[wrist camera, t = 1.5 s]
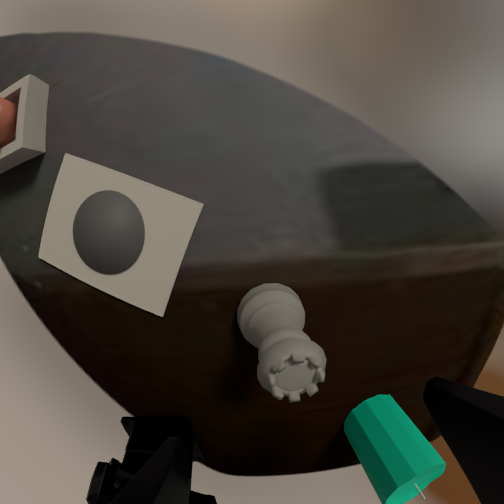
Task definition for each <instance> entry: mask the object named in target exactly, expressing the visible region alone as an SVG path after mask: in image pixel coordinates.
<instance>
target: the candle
mask: <svg viewBox="0 0 504 504" xmlns="http://www.w3.org/2000/svg"><path fill="white" fill-rule="evenodd" d="M344 432H345V434H346V436H347V438H348V440H349V442H350V444H351V445H352V447H353V449H354V451H355V453H356V455H357V457H358V459H359V461H360V463H361V464H362V466H363V468H364V470H365V472H366V474H367V476H368V478H369V480H370V482H371V484H372V485H373V487H374V489H375V491H376V493H377V495H378V497H379V498H380V501H381V503H382V504H403V503H405V502H407V501H409V500H410V499H412V498H414V497H415V496H417V495H418V494H419V493H420V494H421V496H422V497H423V499H426V498H425V497H424V495H423V494H422V492H421V491H422V490H423V489H424V488H425V487H426V486H427V485H428V484H429V483H430V482H432V481H433V480H435V479H436V478H438V477H439V476H441V475H442V474H443V472H444V469H445V466H446V463H445V462H444V461H443V459H442V458H441V457H440V456H439V454H438V453H437V452H436V450H435V449H434V448H433V447H432V446H431V444H430V443H429V442H428V441H427V439H426V438H425V437H424V436H423V434H422V433H421V432H420V431H419V430H418V428H417V427H416V426H415V425H414V423H413V422H412V421H411V420H410V419H409V417H408V416H407V415H406V414H405V413H404V411H403V410H402V409H401V408H400V406H399V405H398V404H397V403H396V402H395V400H394V399H393V398H392V397H391V396H390V395H377V396H374V397H372V398H369V399H367V400H365V401H363V402H362V403H361V404H359V405H358V406H357V407H356V408H354V409H353V410H352V411H351V412H350V414H349V415H348V417H347V418H346V420H345V421H344Z"/></svg>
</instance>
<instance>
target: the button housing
mask: <svg viewBox="0 0 504 504" xmlns="http://www.w3.org/2000/svg"><path fill="white" fill-rule="evenodd" d="M48 94H49V85H48V84H46V83H44V82H43V81H41V80H40V79H38V78H36V77H35V76H33V75H31V74H29V75H27V76H26V77H24V78H22V79H21V80H19V81H17V82H16V83H14V84H13V85H11V86H10V87H8V88H7V89H5V90H4V91H2V92H1V93H0V97H1V98H4V99H6V100H9V101H11V102H13V103H16V104H17V105H18V114H17V125H16V133H15V135H14V136H13V138H12V140H11V141H10V142H9V143H8V144H7V145H6V146H4V147H2V148H0V174H1V173H3V172H5V171H7V170H9V169H11V168H13V167H15V166H17V165H19V164H21V163H23V162H25V161H27V160H30V159H32V158H34V157H36V156H38V155H41V154H43V153H45V152H46V117H47V104H48Z"/></svg>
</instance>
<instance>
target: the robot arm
mask: <svg viewBox="0 0 504 504" xmlns="http://www.w3.org/2000/svg"><path fill="white" fill-rule="evenodd" d="M423 399H424V402H425V404H426V406H427V408H428V410H429V412H430V414H431V416H432V418H433V420H434V422H435V424H436V426H437V428H438V430H439V432H440V433H441V435H442V437H443V438H444V440H445V441H446V443H447V445H448V446H449V448H450V449H451V451H452V453H453V454H454V456H455V458H456V459H457V461H458V463H459V465H460V466H461V468H462V470H463V471H464V473H465V475H466V477H467V478H468V480H469V482H470V484H471V486H472V487H473V489H474V491H475V493H476V495H477V497H478V499H479V501H480V502H481V504H504V397H503V396H499V395H496V394H492V393H488V392H485V391H482V390H478V389H475V388H472V387H468V386H465V385H462V384H459V383H456V382H453V381H449V380H446V379H443V378H440V377H434V378H432V379H430V380H428V382H427V384H426V388H425V391H424V395H423ZM183 422H185V423H183ZM121 423H122V425H123V427H124V429H125V430H126V432H127V433H128V435H129V440H128V443H127V446H126V449H125V450H126V452H125V455H124V458H123V462H122V463H120V462H119V461H118V460H116V459H114V458H112V459H111V461H110V462H109V463H107V462H106V463H105V462H98V463H97V466H96V468H95V471H94V474H93V476H92V479H91V483H90V486H89V490H88V494H87V498H86V500H87V502H88V504H217V502H216V499H215V497H214V496H212V495H205V494H201V493H197V492H194V491H191V477H192V462H193V461H203V460H204V454H203V452H202V449H201V447H200V445H199V443H198V440H197V438H196V435H195V433H194V431H193V428H192V426H191V423H190V421H189V419H188V418H186V417H122V419H121Z"/></svg>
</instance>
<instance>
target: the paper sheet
mask: <svg viewBox="0 0 504 504" xmlns="http://www.w3.org/2000/svg"><path fill="white" fill-rule="evenodd" d="M203 205H204V204H202V203H199V202H197V201H194V200H191V199H189V198H186V197H184V196H181V195H179V194H176V193H173V192H171V191H168V190H166V189H163V188H160V187H158V186H155V185H153V184H150V183H147V182H145V181H142V180H139V179H137V178H134V177H131V176H128V175H126V174H123V173H120V172H118V171H115V170H112V169H109V168H107V167H104V166H101V165H98V164H95V163H93V162H90V161H87V160H84V159H81V158H78V157H76V156H73V155H70V154H67V153H66V154H65V156H64V159H63V162H62V165H61V168H60V171H59V174H58V177H57V180H56V183H55V187H54V190H53V193H52V197H51V201H50V204H49V208H48V212H47V216H46V220H45V225H44V229H43V234H42V239H41V245H40V250H39V256H38V257H39V258H41V259H42V260H44V261H46V262H48V263H50V264H51V265H53V266H55V267H57V268H59V269H60V270H62V271H64V272H66V273H68V274H70V275H72V276H74V277H76V278H77V279H79V280H81V281H83V282H85V283H87V284H89V285H91V286H93V287H95V288H98V289H100V290H102V291H104V292H106V293H108V294H110V295H112V296H114V297H117V298H119V299H121V300H123V301H125V302H128V303H130V304H132V305H135V306H137V307H139V308H142V309H144V310H146V311H149V312H151V313H153V314H156V315H158V316H161V317H163V315H164V312H165V309H166V306H167V303H168V300H169V297H170V294H171V291H172V288H173V286H174V283H175V280H176V277H177V274H178V271H179V268H180V266H181V263H182V260H183V257H184V255H185V252H186V249H187V247H188V244H189V241H190V239H191V236H192V233H193V231H194V228H195V226H196V223H197V220H198V218H199V215H200V213H201V210H202V208H203Z"/></svg>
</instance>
